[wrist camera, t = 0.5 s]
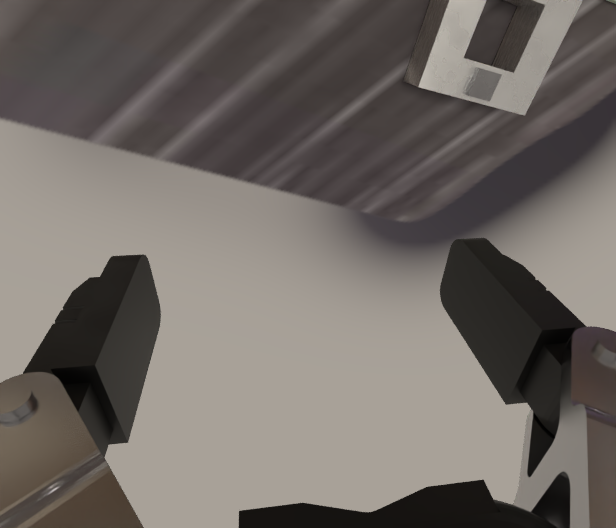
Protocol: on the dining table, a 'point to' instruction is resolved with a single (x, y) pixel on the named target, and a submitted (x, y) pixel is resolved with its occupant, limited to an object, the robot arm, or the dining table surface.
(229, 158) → the dining table surface
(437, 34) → the block
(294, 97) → the dining table surface
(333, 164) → the dining table surface
